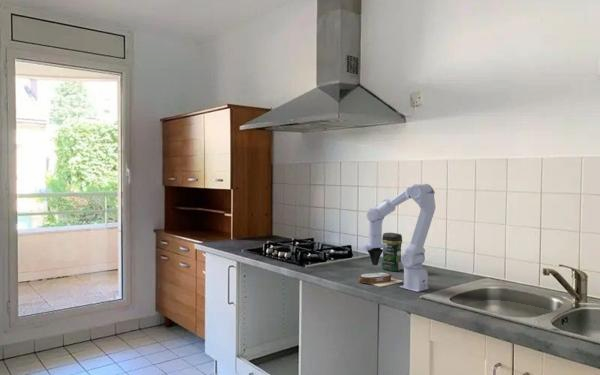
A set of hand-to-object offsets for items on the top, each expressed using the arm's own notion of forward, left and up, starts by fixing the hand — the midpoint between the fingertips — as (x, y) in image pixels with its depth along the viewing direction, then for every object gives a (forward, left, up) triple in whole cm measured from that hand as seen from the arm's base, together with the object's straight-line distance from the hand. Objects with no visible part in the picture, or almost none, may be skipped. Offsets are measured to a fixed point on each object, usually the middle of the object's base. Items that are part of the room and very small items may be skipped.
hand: (375, 264), depth 197 cm
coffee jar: (+9, -23, -7) cm, 26 cm away
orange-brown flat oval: (+2, +1, -5) cm, 5 cm away
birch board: (-5, 0, -7) cm, 9 cm away
